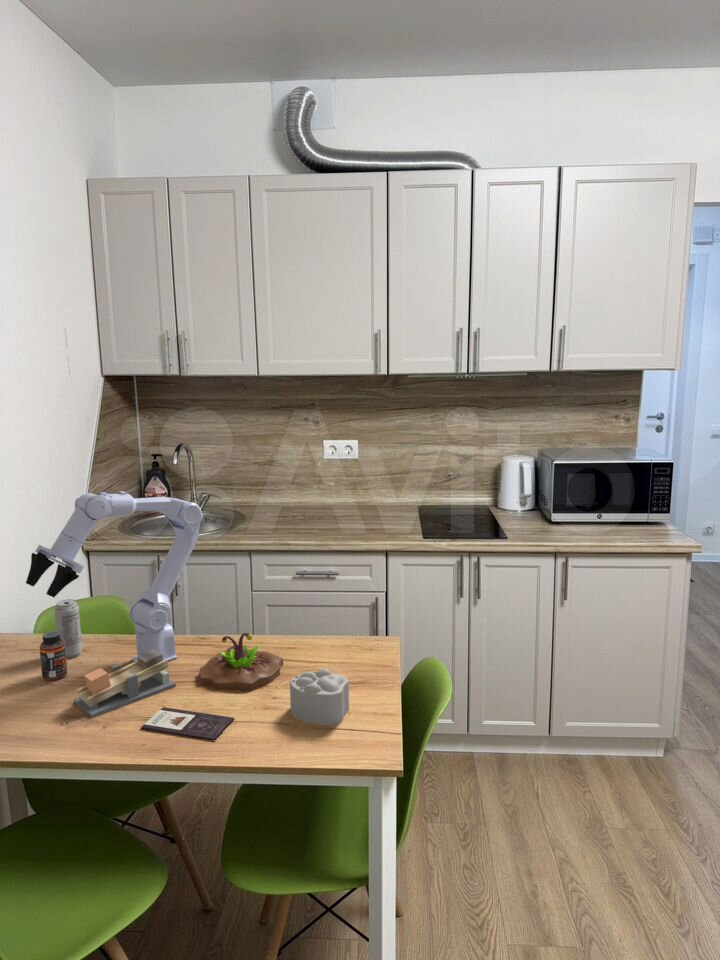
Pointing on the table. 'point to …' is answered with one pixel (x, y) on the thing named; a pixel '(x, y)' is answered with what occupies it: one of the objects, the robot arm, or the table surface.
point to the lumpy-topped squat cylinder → (319, 697)
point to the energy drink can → (69, 626)
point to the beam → (142, 668)
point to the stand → (129, 692)
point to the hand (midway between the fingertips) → (39, 590)
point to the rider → (97, 681)
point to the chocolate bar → (188, 723)
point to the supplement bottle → (53, 656)
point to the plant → (240, 667)
